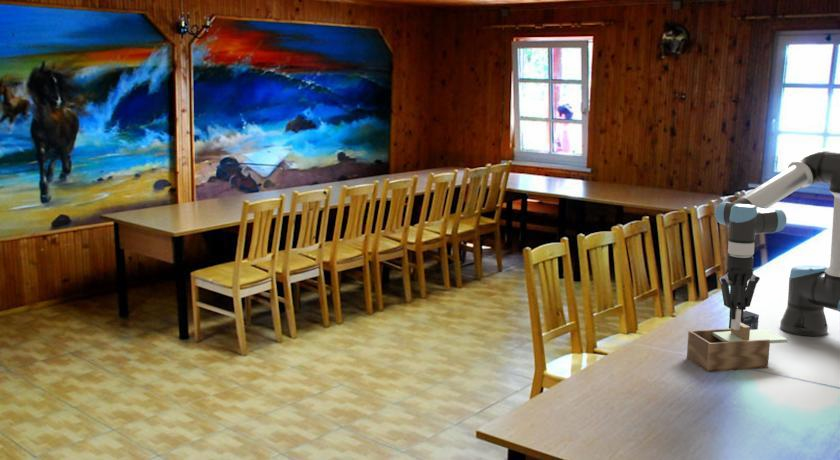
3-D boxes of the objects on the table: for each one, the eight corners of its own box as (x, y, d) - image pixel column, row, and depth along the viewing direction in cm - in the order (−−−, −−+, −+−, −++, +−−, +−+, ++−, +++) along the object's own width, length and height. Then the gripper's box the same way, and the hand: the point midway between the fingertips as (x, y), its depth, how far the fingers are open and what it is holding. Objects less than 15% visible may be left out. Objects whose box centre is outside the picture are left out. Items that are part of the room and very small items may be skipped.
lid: (766, 331, 261) (767, 316, 260) (787, 342, 250) (788, 326, 249) (712, 335, 257) (713, 320, 256) (730, 346, 247) (732, 330, 246)
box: (740, 348, 268) (742, 317, 266) (727, 343, 273) (729, 313, 271) (757, 344, 271) (759, 314, 269) (743, 339, 276) (745, 310, 274)
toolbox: (744, 354, 262) (746, 327, 260) (767, 368, 249) (770, 340, 248) (686, 357, 258) (688, 330, 257) (707, 372, 246) (709, 343, 244)
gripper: (752, 251, 253) (747, 324, 257) (714, 253, 250) (709, 326, 255) (767, 256, 245) (761, 331, 250) (727, 258, 243) (722, 333, 248)
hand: (735, 328), depth 252 cm, fingers closed
